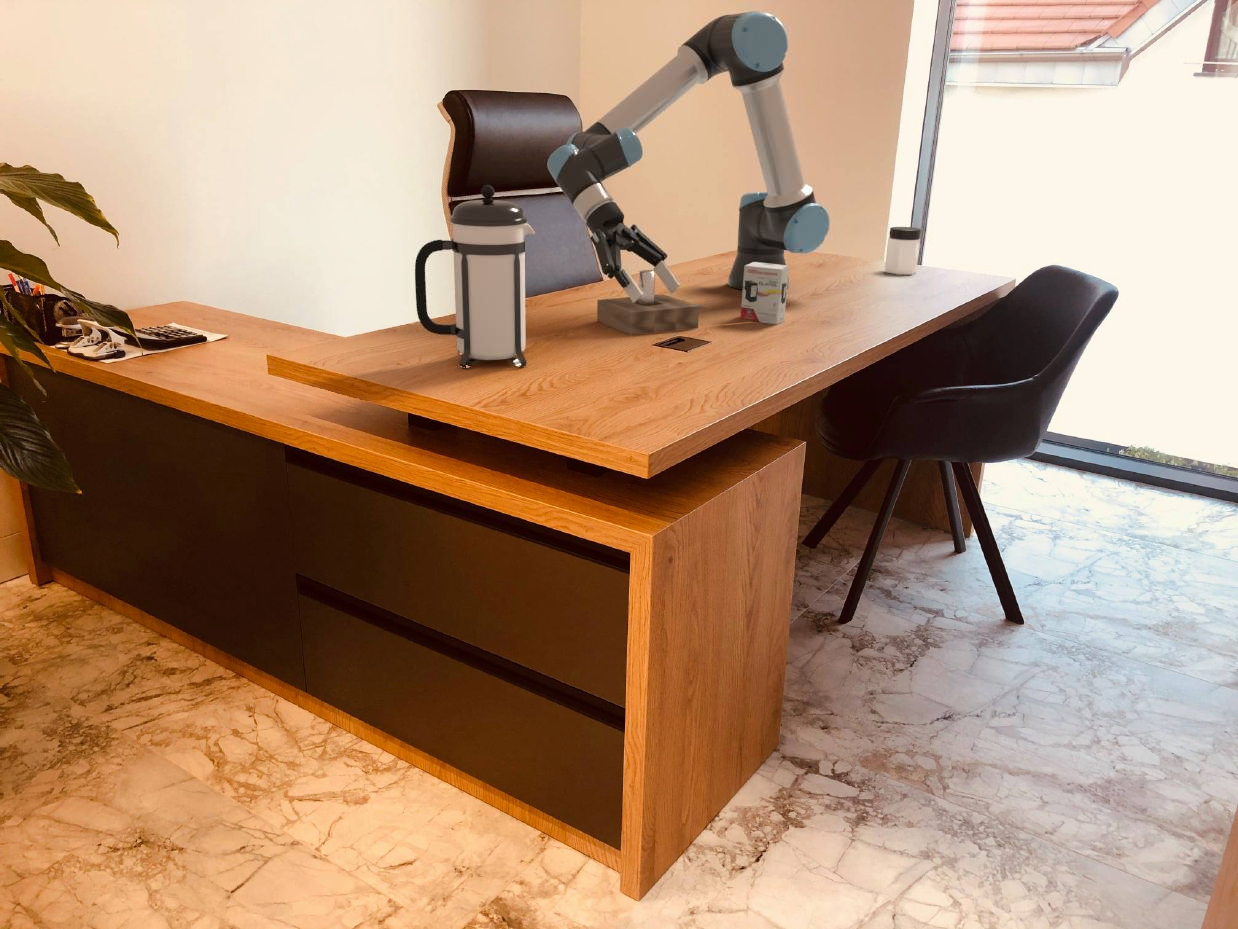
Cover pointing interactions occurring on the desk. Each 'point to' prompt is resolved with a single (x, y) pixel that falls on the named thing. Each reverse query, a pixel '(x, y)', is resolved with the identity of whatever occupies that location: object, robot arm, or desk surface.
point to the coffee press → (483, 280)
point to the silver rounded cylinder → (646, 287)
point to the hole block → (648, 315)
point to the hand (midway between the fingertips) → (657, 293)
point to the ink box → (764, 292)
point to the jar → (902, 250)
